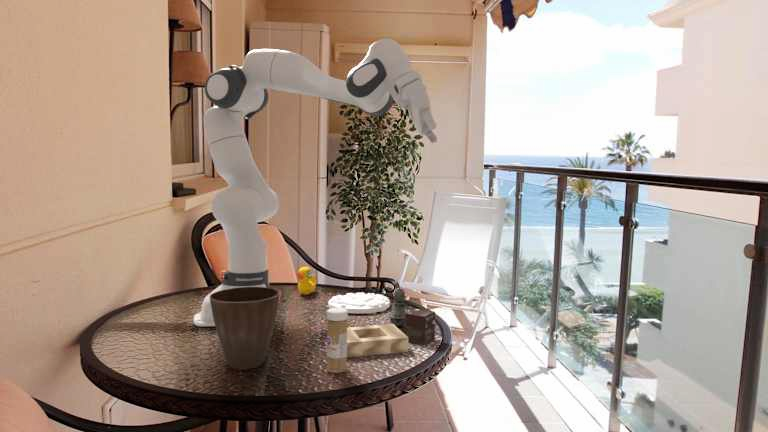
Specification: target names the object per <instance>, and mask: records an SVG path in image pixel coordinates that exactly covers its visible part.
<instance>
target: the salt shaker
mask: <svg viewBox="0 0 768 432" xmlns="http://www.w3.org/2000/svg"><path fill="white" fill-rule="evenodd" d="M405 294H406V293H405V290H403V289H402V288H401V286H400V285H399V286H398V289H395V290H394V293H393V295H394V297H393V299H394V300H393V302H392V303H393V312H392V313H390V314H388V318H389V322H390V324H394V325H395V326H396V327H397V328H398V329H399V330H401V331H402V332H405V313H406V310H405V306H406V301H405V300H406V299H405V297H406V296H405Z"/></svg>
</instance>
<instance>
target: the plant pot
mask: <svg viewBox="0 0 768 432" xmlns="http://www.w3.org/2000/svg"><path fill="white" fill-rule="evenodd" d="M279 298H280V291H279V290H277V289H275V288H272V287H269V288H265V287H240V288H232V289H226V290H221V291H218V292H215V293H213V294H211V295H210V302H211V308H212V314H213V318H214V322H215V326H214V327H215V330H216V333H217V336H218V337H217V338H218V340H219V343H220V345H221V349H222V351H223V354H224V356H225V358H226V361H227V363H228V365H229V367H230V368H231V369H234V370H243V371H244V370H251V369H255V368H258V367H261V365H263V363H264V362H265V358H266V356H267V353H268V350H269V347H270V344H271V341H272V337H273V333H274V328H275V325H276V324H275V323H276V320H277V319H276V318H277V312H278V305H279V301H280V300H279Z"/></svg>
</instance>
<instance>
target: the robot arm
mask: <svg viewBox="0 0 768 432" xmlns="http://www.w3.org/2000/svg"><path fill="white" fill-rule="evenodd" d="M268 90H275V91H280V92H284V93H285V92H286V93H291V94H296V95H297V94H299V95H304V96H310V97H316V98H321V99H324V100H329V101H333V102H337V103H341V104H345V105H350V106H353V107H355V108H357V109H359V110H361V111H362V112H364V114H366V115H368V116H371V117H380V116H383V115H385V114H386V113H387V112H388V111H390V109H391V108H392V106H393V104H394V102H395V105H396V106H397V107H398V108H403V109H404V110H408V115H409V117H410V120H411V122H412V123H413V125H414V127H415V129H416V131H417V132H418V135H420V137H424V136H425V137H426V138H427V139H428V140H429V142H430V144H431V145H433V144H435V143H437V142H438V138H437V135H436V134H435V133H434V130H435V129H436V128H437V123H436V121H435V119H434V117H433V114H432V113H431V111H432V110H431V101H430V98H429V94H428V92H427V86H426V85H425V83H424V81H423V79H422V76H421V74H420V72H419V71H418V70H415V69H414V67H413V65H412V62H411V60H410V58H409V56H408V55H407V53H406V52H405V50H404V49H403V47H402V46H401V45H400V43H398V42H397V40H394V39H392V38H381V39H379V40H377V41H375V42H373V43H372V44H371V45H370V46H369V49H368V51H367V54H366V55H365V57H364V58H363V60H362V61H361V62H360V63H359V64H358V65H356V66H354V67H353V68H352V69H351V70H350V71H349V72H348V74H347V77H346V80H343V79H338V78H335V77H333V76H330V75H329V74H327V73H325V72H324V71H323V70H321V69H320V68H319V67H318V66H316V65H315V64H314V63H313V62H312V61H311V60H309V59H308V58H307V57H306V56H303V55H301V54H298V53H297V52H293V51H289V50H281V49H274V48H261V49H259V48H258V49H253V50H250V51H249V52H248V53H247V54H246V55H245V57H244V59H243V64H242V66H240V67H239V66H237V65H235V64H232V65H229V66H227V67H225V68H221V69H217V70H214V71H213V72H212V73H210V74H209V75H208V77H207V78H206V80H205V82H204V93H205V97H206V98H207V99H208V100H209V102H210V103H212V104H213V105H214V106H212V107H209V108H208V109H207V110H205V112H204V115H203V127H204V133H205V139H206V142H207V143H206V144H207V145H208V148H209V152H210V156H211V158H212V161H213V166H214V168H215V170H216V173H217V174H218V176H220V177H221V178H222V179H223V180H224V181H225V182H226V183H227V185H228V187H227V188H225V189H222V190H220V191H218V192H217V193H216V194H214V196H213V197H212V201H211V206H210V207H211V212H212V214H213V215H212V216H213V217H214V219H215V220H216V221H217V222H219V224H220V225H221V227H222V229H223V234H224V235H225V239H226V244H227V256H228V260H227V261H228V270H224V269H223V270H221V271H220V273H219V277H220V279H221V284H220V285H219V286H217V287H216V288H215V289H214V290H212V291H211V292H210V293H208V294H207V295H206V296H205V297H204V299H203V301H202V305H201V310H200V311H198V312H197V313H195V315H194V316H193V324H194V325H195V326H197V327H216V326H215V322H214V318H213V314H212V308H211V302H210V295H211V294H213V293H215V292H218V291H221V290H226V289H232V288H240V287H265V288H270V272H269V269H268V245H267V242H266V240H265V239H263V237H262V235H261V232H260V229H259V225H258V223H261V222H265V221H267V220H269V219H271V218H273V217H274V216H275V215H276V214H277V213H278V211H279V208H280V199H279V195H278V194H277V193H276V191H274V190H273V189H271V187H270V186H269V185H268V183H267V182H266V180H265V178H264V177H263V175H262V174H261V172H260V170H259V169H258V167H257V165H256V163H255V160H254V158H253V154H252V152H251V148H250V145H249V142H248V139H247V136H246V133H245V131H244V125H243V120H250V119H252V118H253V117H254V115H256V114H258V113H260V112H261V111H263V110H264V109H265V108H266V106H267V105H268V103H269V98H270V97H269V92H268Z"/></svg>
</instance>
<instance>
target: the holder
mask: <svg viewBox="0 0 768 432" xmlns="http://www.w3.org/2000/svg"><path fill="white" fill-rule="evenodd" d="M408 352H409V341H408V337H407V336H406V335H405V332H404V331H401V330H399V329H398V328H397V327H396V326H395V325H394V324H392V323H389V324H386V323H385V324H373V325H361V326H350V327H349V326H347V358H357V357H365V356H377V355H378V356H379V355H388V354H399V353H408Z"/></svg>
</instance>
